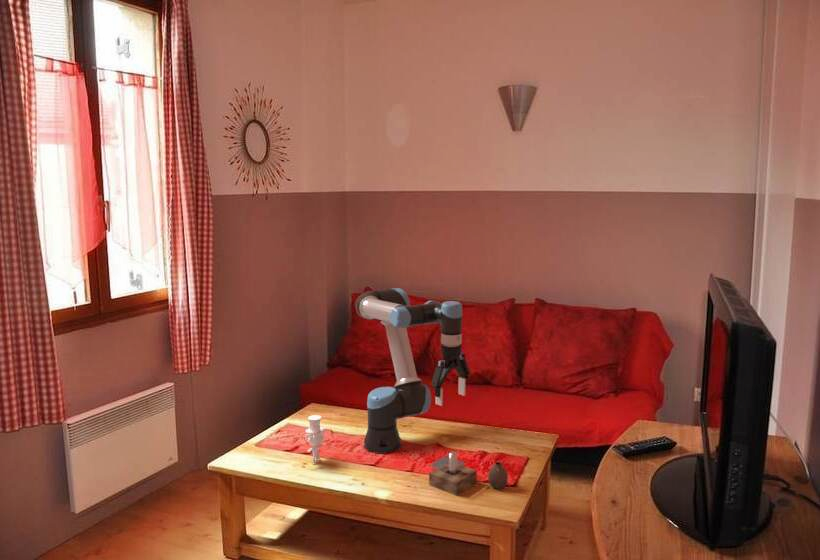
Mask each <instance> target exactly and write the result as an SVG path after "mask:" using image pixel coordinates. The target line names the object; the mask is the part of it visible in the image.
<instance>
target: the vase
mask: <svg viewBox="0 0 820 560" xmlns="http://www.w3.org/2000/svg"><path fill="white" fill-rule="evenodd" d="M487 479H488V484H489V485H490V486H491V488H493V489H494V490H502V489H504V488H505V487H506V486H507V483H508V480H509V475H508V471H507V469H506V467H504V465H503V463H502V462H501V461H495V462H494V464H493V465H492V467H490V469H489V470H488V475H487Z"/></svg>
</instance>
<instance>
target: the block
mask: <svg viewBox="0 0 820 560" xmlns="http://www.w3.org/2000/svg"><path fill="white" fill-rule="evenodd" d="M477 473H478V471H477V469H473V468H470V467H467V466H465V465H459V464H457V475H455V476H453V475H450V474H449V462H447V463H446V464H444V465H442V466H440V467H439V468H435V469H434V470H432V471H430V472H429V473H428V475H429V476H428V481H429V482H428V483H429V487H433V488H435V489H438V490H441V491H443V492H446V493H448V494H451V495H454V496H456V497H457V496H459V495H460V494H462V493H464V492H465V491H466V490H467V489H470V488H471V487H472V486H475V485H476V484H477V481H478V478H477V477H478V475H477Z"/></svg>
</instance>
